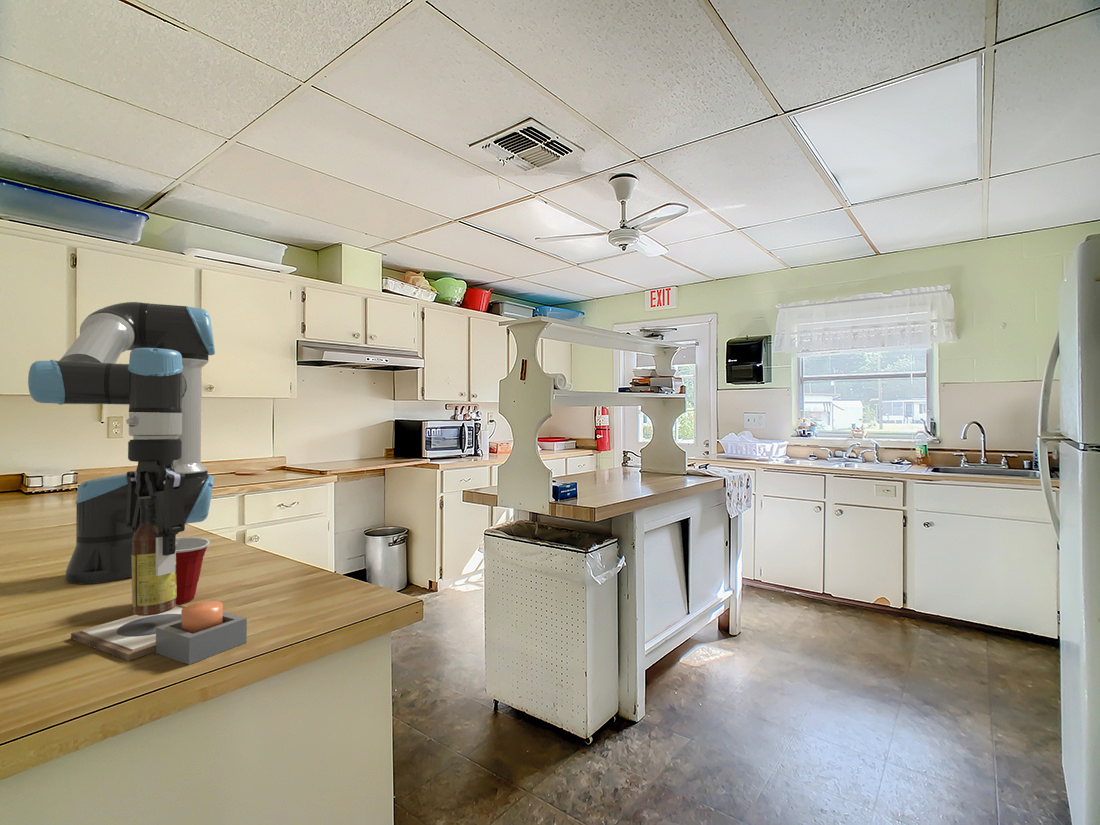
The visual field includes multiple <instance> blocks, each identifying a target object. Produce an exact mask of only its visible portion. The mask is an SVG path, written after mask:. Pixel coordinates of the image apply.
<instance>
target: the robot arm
mask: <svg viewBox="0 0 1100 825" xmlns="http://www.w3.org/2000/svg"><path fill="white" fill-rule="evenodd" d="M212 327H213V326H212V322H211V317H210V313H209V312H208V311H207V310H206V309H204V308H201V307H194V306H188V305H175V304H172V305H171V304H162V303H148V302H139V301H127V302H120V303H115V304H111V305H108V306H105V307H102V308H99V309H97V310H95V311H94V312H92V313H90V314H89V315H87V316H86V317H85V318H84V319H83V321H82V322H81V324H80V327H79V335H78V336H77V338H76V339H75V340H74V342H73V343H72V344H71V345H70V347H69V348H68V349H67V350H66V352H65V353H64V354H63V355H62V357H61V358H60V359H59V360H56V359H50V360H35V361H34V362H33V363H32V364H31V365H30V367H29V370H28V376H27V379H28V380H27V383H28V384H27V385H28V392H29V395H30V397H31V398H32V399H33V401H35V402H37V403H40V404H56V405H62V406H63V405H128V418H127V419H126V420H125V421H126V424H128V435H129V436H130V437H132V439H129V441H127V459H128V461H129V462H135V463H136V462H137V466H136V470H134V471H133V470H132V471H127V472H126V473H125V474H124V473H123V474H116V475H109V476H103V477H99V478H98V477H97V478H92V479H88V480H85V481H83V482H81V483H80V484H79V485H78V487H77V491H76V501H75V504H76V515H75V516H76V518H75V519H76V520H75V522H76V523H75V524H76V526H75V527H76V530H75V531H76V533H75V534H76V536H75V537H76V540H75V541H76V542H75V548H74V550H73V552H72V555H71V558H70V559H69V562H68V565H67V567H66V570H65V582H67V583H70V584H82V585H83V584H96V583H97V584H98V583H107V582H112V581H119V580H123V579H124V580H125V579H128V578H132V558H131V554H132V537H133V535H134V533H135V532H136V530H137V529H138V527H139V525H140V506H139V505H138V503H139V498H140V497H143V496H150V497H151V498H153V499H154V505H155V511H156V517H157V523H158V529H159V533H158V534H156V535H155V537H156V576H160V575H165V574H169V573H173V572H175V545H176V538H177V537H176V536H177V535H178V534H179V533H182V532H184V531H185V529H186V528H185V527H186V526H185V525H187V524H194V523H201V522H204V521H206V520H207V518H208V515H209V512H210V506H211V500H212V495H213V486H214V480H215V476H213V475H211V474H209V475H208V471H209V470H208V468H207V467H206V466H205V465H204V464H203V463H202V462H201V458H202V455H201V453H202V452H201V451H202V450H201V447H202V443H201V442H202V440H201V439H202V437H201V436H202V429H201V428H202V413H201V412H202V368H203V367H205V366H206V365H207V364H208V363H209V356H214V355H216V350H215V342H214V336H213V334H214V333H213V328H212ZM126 351H130V352H129V359H128V360H129V361H128V363H117V361H118V359H119V358H120V355H122V353H124V352H126Z"/></svg>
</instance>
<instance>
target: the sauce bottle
mask: <svg viewBox="0 0 1100 825" xmlns="http://www.w3.org/2000/svg"><path fill="white" fill-rule="evenodd" d="M138 505H139V506H140V525H139V527H138V529H137V530H136V532H135V533H134V535H133V537H132V554H131V558H132V577H131V603H132V605H131V606H132V607H133V608H132V612H133V615H139V616H150V615H156V614H160V613H164V612H166V611H169V610H171V609H173V608H174V607H175V605H176V597H177V585H176V545H175V572H173V573H169V574H165V575H160V576H156V537H155V535H156V534H158V533H159V529H158V523H157V517H156V511H155V505H154V499H153V498H151V497H150V496H143V497H140V498H139V503H138Z"/></svg>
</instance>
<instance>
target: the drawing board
mask: <svg viewBox="0 0 1100 825" xmlns="http://www.w3.org/2000/svg"><path fill="white" fill-rule="evenodd" d="M184 607H185V606H183V605H181V604H178V605H177V604H176V605H175V607H174V608H173V609H171V610H169V611H166V612H164V613H160V614H156V615H150V616H139V615H136V614H133V615H130V616H129V615H128V616H126V617H122V618H119V619H116V620H112V621H111V620H110V621H108V622H105V623H101V624H97V625H94V626H91V627H87V628H83V629H80V630H76V631H72V632H70V639H71V638H72V639H75V640H77V641H76V642H78V641H80V642H82V643H81V644H83V643H84V645H85V644H87V645H86V646H88V645H90V646H89V647H91V646H92V647H91V648H93V647H95V648H94V649H96V648H97V649H96V650H98V649H100V650H99V651H101V650H102V652H104V651H105V652H104V653H106V652H108V653H107V654H109V653H110V655H111V654H113V655H112V656H114V655H115V656H114V657H116V658H119V659H122V660H125V661H128V662H130V661H132V660H135V659H139V658H141V657H144V656H147V655H149V654H153V653H156V627H159V626H162V625H165V624H168V623H172V622H175V621H178V620H181V610H182V609H183V608H184ZM72 639H71V640H72ZM75 640H74V641H75ZM80 642H79V643H80Z"/></svg>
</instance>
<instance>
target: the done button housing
mask: <svg viewBox="0 0 1100 825" xmlns="http://www.w3.org/2000/svg"><path fill="white" fill-rule="evenodd" d="M247 620H248V619H247V617H244V616H240V615H237V614H232V613H229V612H225V611H223V624H220V625H217V626H214V627H211V628H208V629H205V630H203V631H200V632H197V633H194V634H192V633H189V632H186V631H183V630H181V620H178V621H175V622H172V623H168V624H165V625H162V626H159V627H156V652H155V654H158V655H161V656H163V657H165V658H166V657H167V658H169V659H172V660H175V661H178V662H180V663H184V664H185V665H192V664H194V663H197V662H200V661H203V660H205V659H208V658H210V657H213V656H215V655H218V654H221V653H224V652H226V651H228V650H231V649H234V648H236V647H238V646H242V645H244V644H246V643H247V641H248V640H247V630H248V629H247V628H248V627H247V622H248V621H247Z"/></svg>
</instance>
